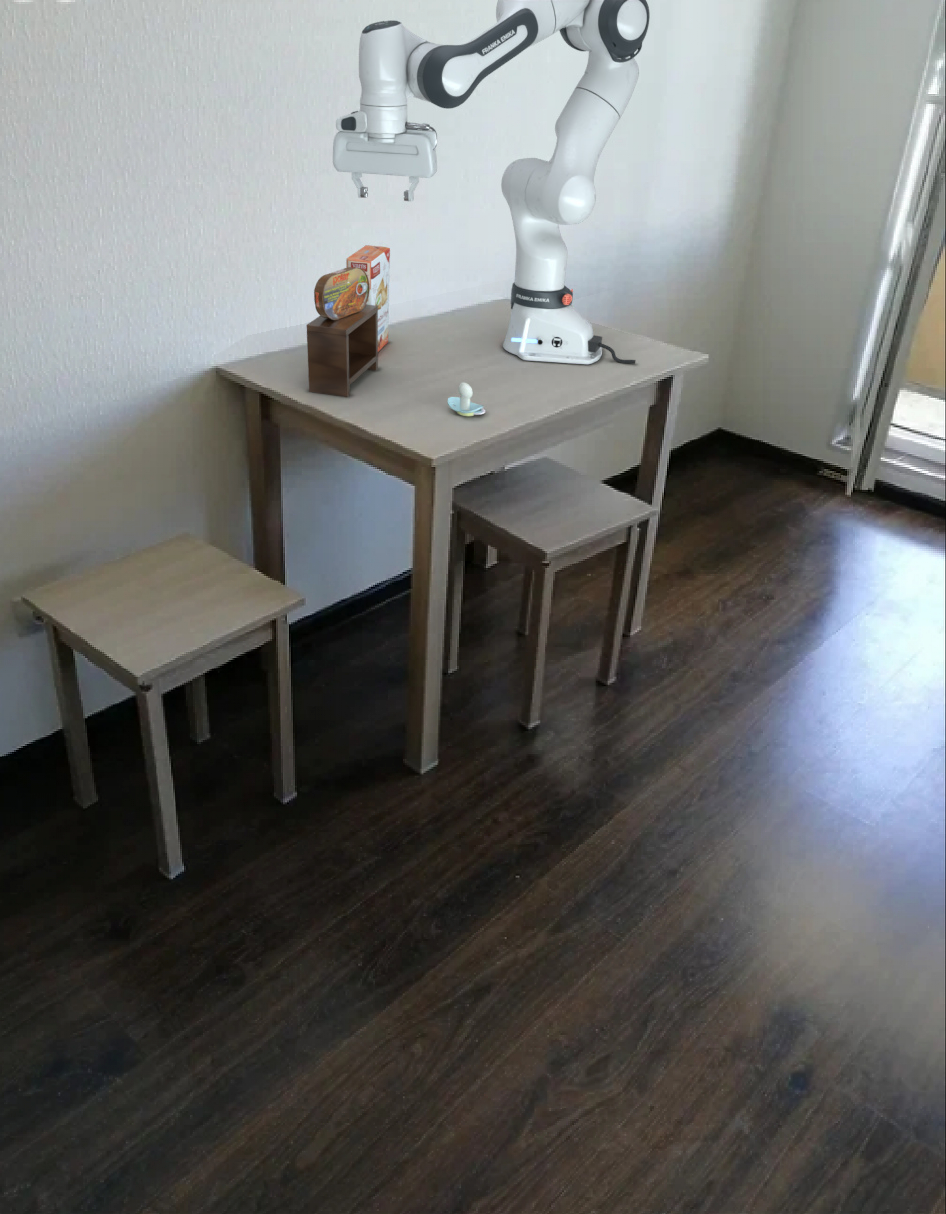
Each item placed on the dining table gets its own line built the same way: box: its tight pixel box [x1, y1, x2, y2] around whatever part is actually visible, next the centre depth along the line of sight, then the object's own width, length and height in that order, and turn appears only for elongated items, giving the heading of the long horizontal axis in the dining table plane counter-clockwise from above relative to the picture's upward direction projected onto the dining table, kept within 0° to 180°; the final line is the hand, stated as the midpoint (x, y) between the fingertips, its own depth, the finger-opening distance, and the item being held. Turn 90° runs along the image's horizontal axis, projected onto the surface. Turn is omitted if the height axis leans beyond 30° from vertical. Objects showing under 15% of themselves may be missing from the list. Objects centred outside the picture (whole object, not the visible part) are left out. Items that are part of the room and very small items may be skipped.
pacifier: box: [447, 381, 486, 417], centre depth 187 cm, size 7×6×6 cm
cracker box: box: [345, 244, 391, 353], centre depth 212 cm, size 14×6×21 cm, turn 168°
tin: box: [313, 267, 370, 320], centre depth 191 cm, size 15×3×8 cm, turn 150°
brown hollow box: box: [306, 304, 379, 398], centre depth 197 cm, size 8×18×13 cm, turn 165°
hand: (385, 199), depth 193 cm, fingers open, 8 cm apart
